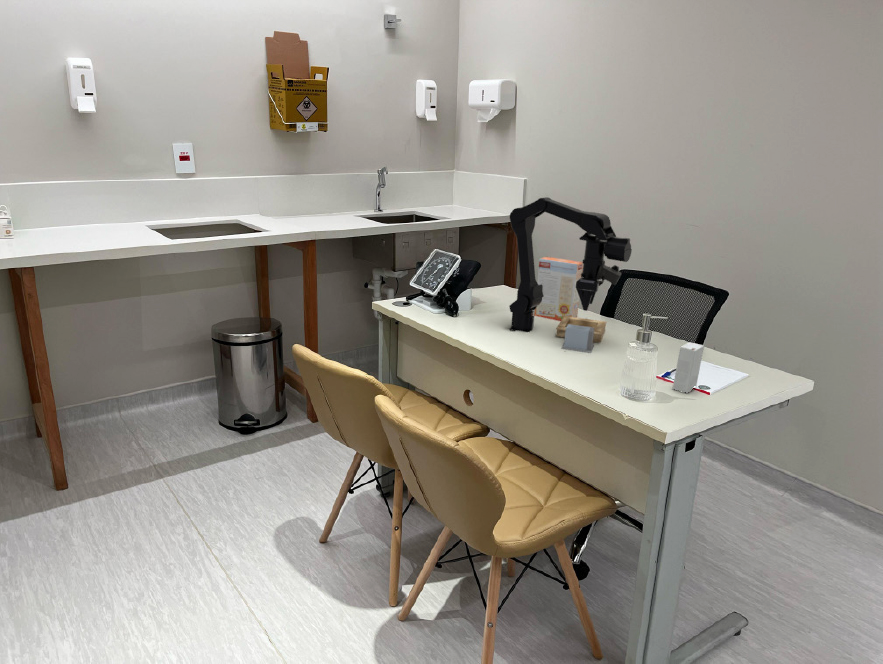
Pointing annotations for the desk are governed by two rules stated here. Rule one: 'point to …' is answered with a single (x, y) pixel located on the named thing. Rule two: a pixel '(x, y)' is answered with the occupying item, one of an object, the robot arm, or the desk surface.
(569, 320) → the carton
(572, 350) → the rubber mat
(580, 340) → the box
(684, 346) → the skincare box
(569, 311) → the cracker box
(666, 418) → the desk surface
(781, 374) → the desk surface
